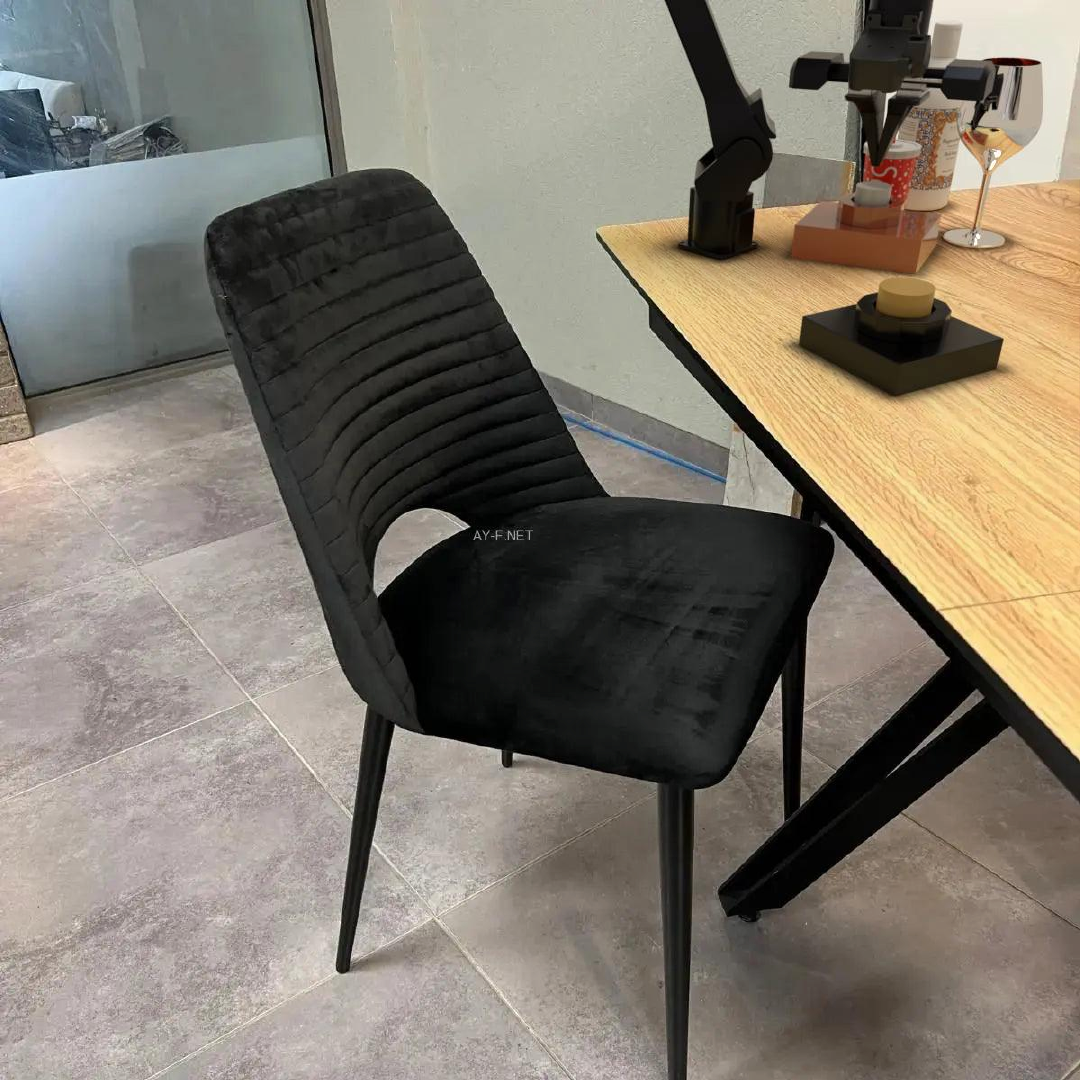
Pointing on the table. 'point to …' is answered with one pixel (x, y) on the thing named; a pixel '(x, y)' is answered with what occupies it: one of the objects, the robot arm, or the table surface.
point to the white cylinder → (872, 193)
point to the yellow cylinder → (905, 297)
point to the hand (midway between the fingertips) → (876, 165)
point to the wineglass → (999, 132)
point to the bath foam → (934, 129)
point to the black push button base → (900, 345)
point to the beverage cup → (894, 167)
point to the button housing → (867, 235)
